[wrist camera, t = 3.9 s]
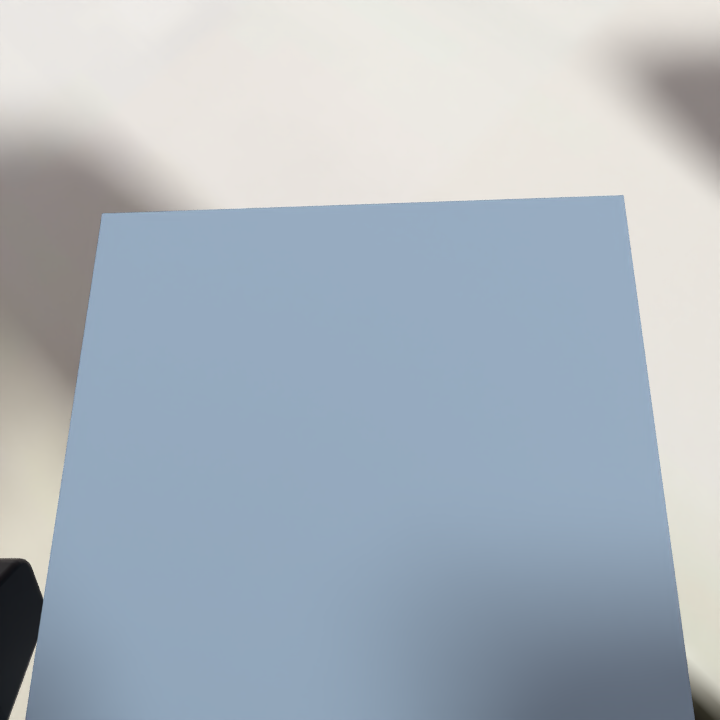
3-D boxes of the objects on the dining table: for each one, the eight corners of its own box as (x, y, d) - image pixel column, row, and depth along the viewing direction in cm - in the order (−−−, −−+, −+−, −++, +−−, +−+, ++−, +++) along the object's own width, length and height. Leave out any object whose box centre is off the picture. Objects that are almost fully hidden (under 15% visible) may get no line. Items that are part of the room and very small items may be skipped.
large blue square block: (490, 646, 16) (707, 827, 4) (305, 644, 16) (14, 802, 4) (481, 460, 17) (623, 194, 6) (310, 460, 18) (101, 213, 6)
